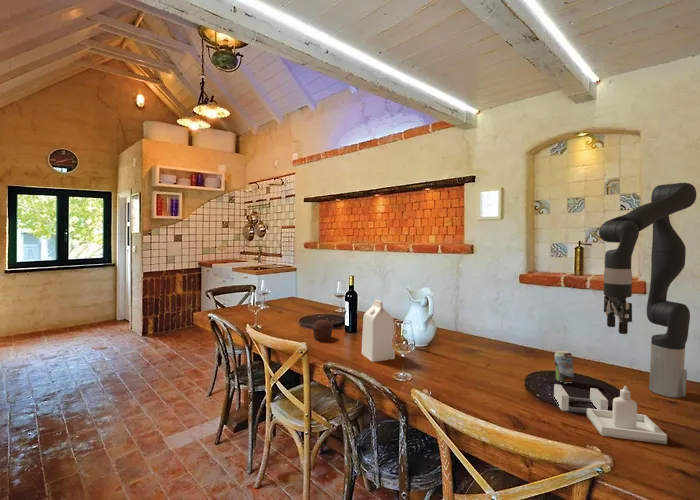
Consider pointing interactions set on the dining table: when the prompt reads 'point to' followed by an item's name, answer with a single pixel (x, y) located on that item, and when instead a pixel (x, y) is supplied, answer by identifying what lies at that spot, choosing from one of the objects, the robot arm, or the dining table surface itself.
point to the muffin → (322, 330)
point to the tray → (642, 432)
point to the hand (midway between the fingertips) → (616, 330)
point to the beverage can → (564, 366)
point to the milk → (377, 333)
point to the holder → (563, 399)
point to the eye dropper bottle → (624, 410)
